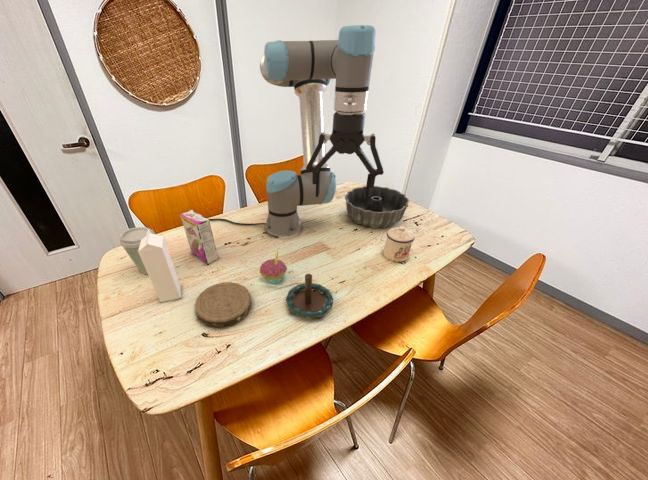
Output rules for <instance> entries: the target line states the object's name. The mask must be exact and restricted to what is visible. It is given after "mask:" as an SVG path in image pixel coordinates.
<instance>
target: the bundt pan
mask: <svg viewBox="0 0 648 480" xmlns="http://www.w3.org/2000/svg"><path fill="white" fill-rule="evenodd" d="M365 191H366V185H364V186H362V187H354V188H352V189H351V190H347V192H346V194H345V196H344V200H345V205H346V212H347V216H348V218H349V220H351V221H353V222H354V223H355V224H357V225H362V227H365V228H367V227H370V228H372V229H378V228H381V229H385V228H386V227H392V226H394V225H395V224H396V223H398V222H400V221H401V220H402V219H403V217H404V214H405V212H406V210H407V208H408V207H409V203H410V199H409V198H408V197H407V195H406V194H404V193H402V192H400V191H399V190H397V189H393V188H389V187H387V186H386V187H385V186H384V187H382V186H379V185H374V187H373V188H369V193H368V199H367V201H365Z"/></svg>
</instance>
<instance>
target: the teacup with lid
mask: <svg viewBox="0 0 648 480" xmlns="http://www.w3.org/2000/svg"><path fill="white" fill-rule="evenodd" d="M415 240H416V235H415V234H414V232H413V231H411V230H410V229H407V228H406V227H405V226H403V225H401V226H398V227H392V228H389V230H387V231H386V239H385V243H384V246H383V247H384V248H383V255H384V256H385V257H386V258H387V259H390V260H392V261H393V262H395V263H401V262H405V261H406V260H408V258H409V255H410V252H411V248H412V245H413V243H414V241H415Z"/></svg>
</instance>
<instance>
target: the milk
mask: <svg viewBox="0 0 648 480" xmlns="http://www.w3.org/2000/svg"><path fill="white" fill-rule="evenodd" d="M149 229H150V228H149ZM149 229H148V231H147V235H146V237H144V238H143V239H142V240H141V242H140V246H139V250H138V253H139V255H140V257H141V260H142V262H143V264H144V266H145V269H146V271H147V273H148V274H147V275H148V278H149V281H150V282H151V285H152V287H153V289H154V291H155V294H156V296H157V298H158V301H159V303H164V302H169V301H175V300H179V299H181V297H182V285H181V282H180V280H179V277H178V273H177V271H176V268H175V266H174V262H173V260H172V256H171V254H170V251H169V248H168V246H167V243H166V240H165V238H164V236H162V235H159V234H156V233H155V234H152V233H150V231H149Z"/></svg>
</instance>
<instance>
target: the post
mask: <svg viewBox="0 0 648 480" xmlns="http://www.w3.org/2000/svg"><path fill="white" fill-rule="evenodd" d="M304 283H305V289H304V290H300V291H298V292H297V293H295V294H294V296H293V299H292V301H293V304H294V305H295V306H296V307H297V308H299V309H300V310H304V311H309V312H312V311H316V310H320V309H322V308H323V307H324V306H325V305H324V304H325V298H326V296H325V294H323V293H322V292H315V291H313V289H312V283H313V275H312V273H306V274H305V275H304ZM289 314H290V315H296V314H295V313H293V312H292V311H291V310H289ZM315 319H322V316H320V317H315Z"/></svg>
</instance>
